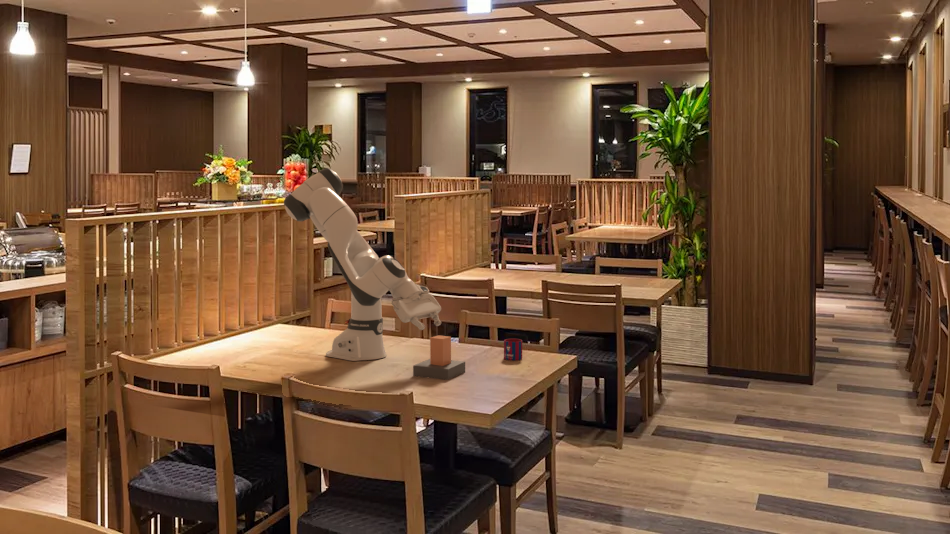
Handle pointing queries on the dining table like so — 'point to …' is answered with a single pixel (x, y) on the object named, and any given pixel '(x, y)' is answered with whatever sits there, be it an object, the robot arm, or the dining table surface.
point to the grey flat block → (439, 370)
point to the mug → (513, 349)
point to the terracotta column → (440, 350)
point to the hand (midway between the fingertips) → (431, 326)
